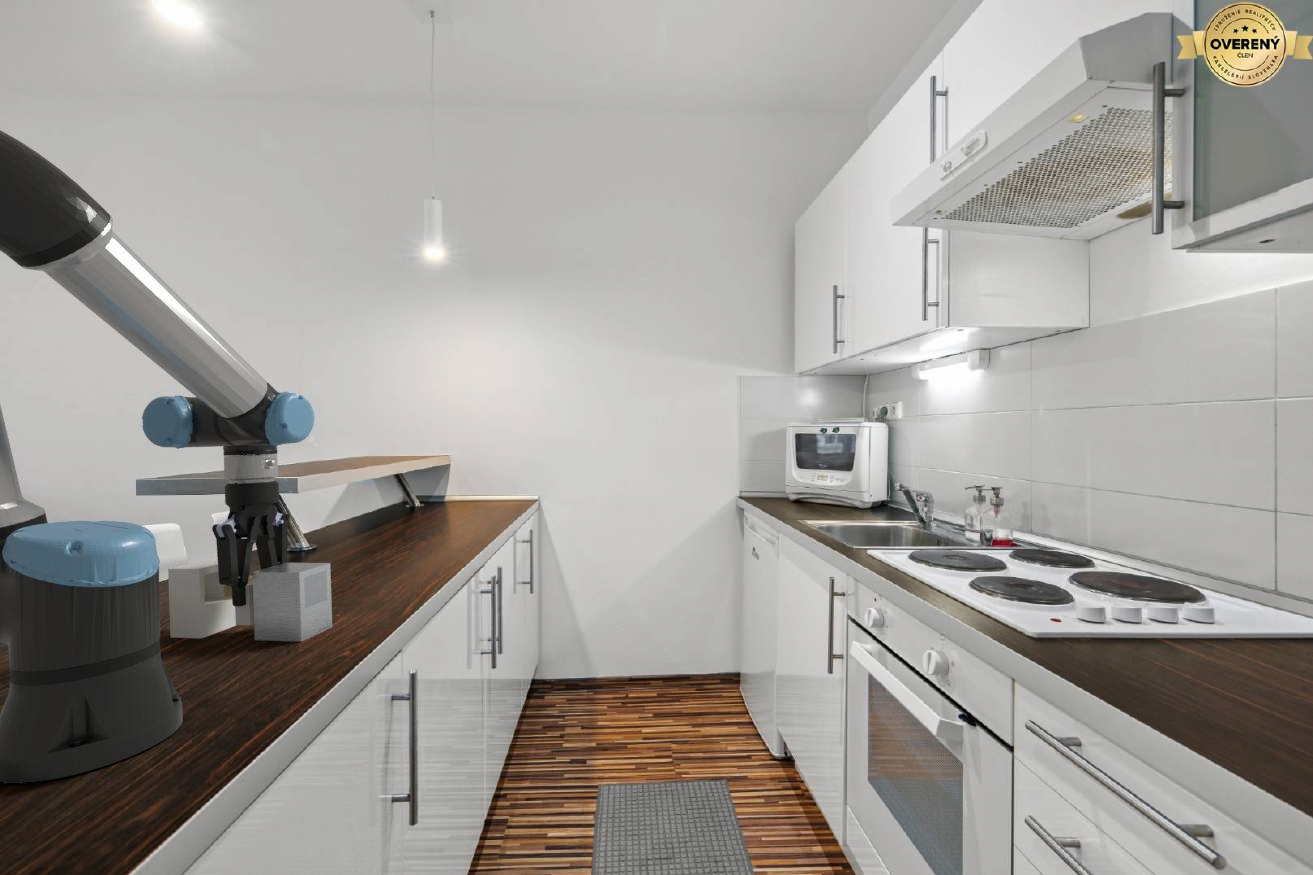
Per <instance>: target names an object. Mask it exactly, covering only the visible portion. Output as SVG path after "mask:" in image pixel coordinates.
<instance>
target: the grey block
mask: <svg viewBox="0 0 1313 875" xmlns="http://www.w3.org/2000/svg"><path fill="white" fill-rule="evenodd" d="M331 570H332V569H331V562H288V563H283V564H280V565H276V566H273V567H269V568H265V569H262V570H261V569H259V570H256V571H252V576H253V611H254V624H253V625H254V626H253V627H254V641H273V642H301V643H302V642H304V641H306V640H308V639H311V638H313V637H315V636H317V635H319V634H321V633H323V632H325V631H327V630H330V629H332V628H333V609H332V608H333V606H332V580H331V578H332V577H331V572H332V571H331Z"/></svg>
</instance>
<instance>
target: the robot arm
mask: <svg viewBox="0 0 1313 875" xmlns="http://www.w3.org/2000/svg"><path fill="white" fill-rule="evenodd" d="M113 221H114V219H113V217H112V215H110V213H109V212H108V211H107V210H106V209H105V208H103V206H102V205H101V204H99V203H98V202H97V201H96V199H94V198H93V197H92V196H91V195H90V194H89V193H88V192H87V191H86V190H85V189H83V187H82V186H80V185H79V184H78V183H77V182H76V181H74V179H72V178H71V177H70V176H69V175H67V174H66V173H65V172H64V171H62V169H60V168H59V167H57V166H56V165H55V164H54V163H52V162H51V161H50V160H48V159H47V158H45V157H44V156H43V155H41V154H40V153H39V152H37V151H36V150H34V149H33V148H31V147H30V146H28V145H27V144H25V143H23V142H22V141H21V140H19V139H17V138H15V137H13V136H12V135H10V134H8V133H6V132H5V131H3V130H1V129H0V252H1V253H3V254H5V255H6V256H8V257H9V259H10V260H13V262H15V264H17V265H18V266H20V267H21V268H22V269H24V270H31V271H42V272H44V273H45V274H46V275H48V276H49V278H51V279H52V280H53V281H55V282H56V283H57V284H58V285H59V286H61V287H62V288H63V289H64V290H65V291H67V292H68V293H69V294H70V295H72V296H73V297H75V299H77V300H78V301H79V302H80V303H81V304H82V305H84V306H85V307H86V308H88V309H89V310H90V311H91V312H92V313H94V314H95V315H96V316H98V317H99V319H101V320H102V321H103V322H104V323H106V324H107V325H108V326H110V327H111V328H112V329H113V330H114V331H115V332H116V333H118V334H119V335H121V336H122V337H123V338H124V339H125V340H127V341H128V342H129V343H130V344H131V345H132V346H134V347H135V348H136V349H138V350H139V351H140V352H141V353H142V354H144V355H145V356H146V357H148V358H149V359H150V360H151V361H152V362H153V363H154V364H155V365H157V366H158V367H159V368H161V369H162V370H163V371H164V372H166V374H168V375H169V376H170V377H172V378H173V380H175V381H177V382H178V383H179V384H180V385H181V386H182V387H183V388H185V389H186V390H187V391H188V392H190V393H191V394H192V395H194V396H193V397H192V396H191V397H190V396H183V395H174V396H173V395H172V396H169V395H168V396H166V395H165V396H158V397H156V398H154V399H152V400H151V401H149V403H148V404H147V405H146V407H145V408H144V410H143V412H142V416H141V419H142V426H141V428H142V431H143V433H144V435H145V436H146V439H147V440H149V441H150V443H152V444H153V445H155V446H158V447H161V448H175V449H177V450H178V449H184V448H207V447H209V448H210V447H211V448H212V447H214V448H215V447H222V449H223V470H224V471H223V477H224V478H223V480H225V481H228V483H226V484H225V486H224V503H225V505H226V506H227V507H228V508H229V511H228V514H227V519H226V520H225V521H223V522H222V523H218V524H217V523H215V524H214V525H212V527H211V529H212V532H213V535H214V537H215V540H216V541H215V542H216V554H217V555H216V556H217V560H218V573H219V583H220V584H221V585H226V586H231V587H232V604H233V606H235V618H236V626H252V625H254V600H253V585H252V584H248V579H249V576H250V571H251V564H252V563H251V562H252V555H253V548H254V544H255V547H256V551H257V552H256V553H257V557H258V561H259V565H260V570H262V569H265V568H269V567H273V566H276V565H280V564H283V563H289V562H288V560H289V559H288V527H289V522H290V519H291V515H290V514H288V513H280V512H278V511H277V510H278V509H277V507H276V504H275V503H278V502H279V501H280V487H279V486H280V484H279V482H278V481H277V480H275V479H276V478H278V477H279V468H278V467H279V466H278V464H279V463H278V446H281V445H289V444H290V445H291V444H298V443H301V442H302V441H305V439H307V438H308V437H309V435H310V434H311V433H312V430H313V428H314V425H315V412H314V408H313V406H312V405H311V403H310V401H309V400H308V399H307V398H306V397H305V396H304V395H301V394H299V393H297V392H296V393H295V392H288V391H282V392H279V391H278V390H276V389H275V388H274V387H273V385H271V384H270V383H269V382H267V380H266V379H265V378H264V377H263V376H262V375H261V374H260V373H259V372H258V371H257V370H256V369H255V368H254V367H253V366H252V365H251V364H250V363H248V361H247V360H246V359H244V358H243V356H241V355H240V353H238V352H237V351H236V350H235V349H234V348H233V347H232V346H231V344H229V343H228V342H227V341H226V339H224V338H223V337H222V336H221V335H220V334H219V333H218V332H217V331H216V330H215V329H214V328H213V327H212V326H210V325H209V323H207V322H206V321H205V319H203V318H202V317H201V316H200V314H198V313H197V311H195V310H194V309H193V308H192V307H191V306H190V305H189V304H188V303H187V302H186V301H185V300H184V299H183V298H182V297H181V296H180V295H179V294H178V293H177V292H176V291H175V290H174V289H172V287H170V286H169V285H168V284H167V283H166V281H165V280H163V279H162V278H161V277H160V275H158V273H156V272H155V271H154V270H153V269H152V268H151V267H150V266H149V265H148V264H147V263H146V262H145V261H144V260H143V259H142V258H141V257H140V256H139V255H137V253H136V252H135V251H133V249H131V247H130V246H128V244H127V243H126V242H125V241H124V240H122V239H121V238H120V237H119V235H117V234H116V233H115V232H114V230H113V224H114V222H113ZM1 406H2V405H1V404H0V647H1V646H3V647H8V667H9V668H8V669H9V690H8V693H7V697H6V698H5V701H4V704H3V707H2V709H1V712H0V782H4V783H3V784H7V783H8V782H10V783H13V782H14V783H16V782H17V783H19V782H20V784H26V783H25V782H32V783H37V782H38V781H40V782H46V781H51V780H57V779H60V778H66V777H70V776H75V775H79V774H82V773H86V772H89V771H92V770H93V771H94V770H96V769H99V768H103V767H106V766H109V765H111V764H114V763H116V762H117V763H118V762H120V761H123V760H125V759H128V758H130V757H133V756H135V755H137V754H140V753H142V752H145V750H148V749H150V748H152V747H154V746H156V745H158V744H159V743H161V742H163V741H164V740H166V739H167V738H169V737H170V736H172V735H173V734H174V733H175V732H176V731H178V730H179V728H180V727H181V726H182V723H183V717H184V716H183V703H182V698H181V697H180V695H179V694H178V692H177V689H176V686H175V685H174V682H173V680H172V678H171V676H170V674H169V672H168V670H167V668H166V666H165V663H164V662H163V660H162V655H161V653H162V652H161V630H160V629H161V624H160V623H161V621H160V620H161V618H160V617H161V616H160V612H161V611H160V570H159V569H160V563H161V562H160V558H159V556H158V551H157V550H158V549H157V543H156V541H157V540H156V538H155V535H154V533H153V532H152V531H151V530H150V529H149V528H147V527H145V526H144V525H143V526H142V525H140V524H136V523H132V522H125V521H116V520H115V521H114V520H113V521H111V520H99V521H92V520H70V521H69V520H68V521H55V522H48V519H47V515H46V509H45V508H44V507H42V506H40V505H37V504H36V503H33V502H31V501H29V500H28V499H27V500H26V499H25V498H24V497H23V495H22V491H21V487H20V482H19V478H18V473H17V469H16V466H15V461H14V456H13V453H12V448H11V444H10V441H9V440H10V439H9V434H8V431H7V426H6V424H5V418H4V415H3V414H4V413H3V411H2V407H1ZM238 576H239V577H240V578H239V577H238ZM44 780H45V781H44ZM36 781H37V782H36ZM21 782H22V783H21ZM38 783H39V782H38Z"/></svg>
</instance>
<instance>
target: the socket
mask: <svg viewBox="0 0 1313 875" xmlns="http://www.w3.org/2000/svg"><path fill="white" fill-rule="evenodd" d="M167 573H168V576H167V579H168V602H169V603H168V605H169V633H170V634H169V636H170V638H175V639H176V638H177V639H178V638H179V639H180V638H181V639H203V638H207V637H209V636H211V635H214V634H218V633H220V632H223V631H225V630H228V629H231V628H233V627H236V626H237V625H236V618H235V606H233V604H232V600H229V599H227V598H226V597H225V595H224V585H221V584H220V583H219V573H218V559H205V560H204V559H203V560H199V561H196V562H192V563H187V564H182V565H179V566H175V567H169V568H168V569H167Z"/></svg>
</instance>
